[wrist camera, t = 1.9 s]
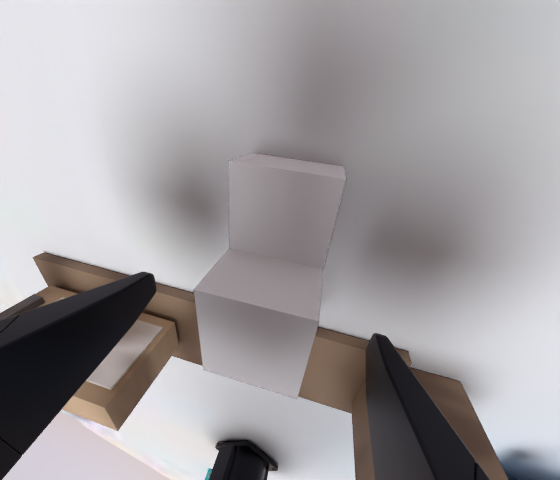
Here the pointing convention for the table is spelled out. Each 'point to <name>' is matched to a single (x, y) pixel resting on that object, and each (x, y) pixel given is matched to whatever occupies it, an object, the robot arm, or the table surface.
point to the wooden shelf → (319, 371)
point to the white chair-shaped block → (269, 271)
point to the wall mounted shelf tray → (115, 364)
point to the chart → (208, 474)
